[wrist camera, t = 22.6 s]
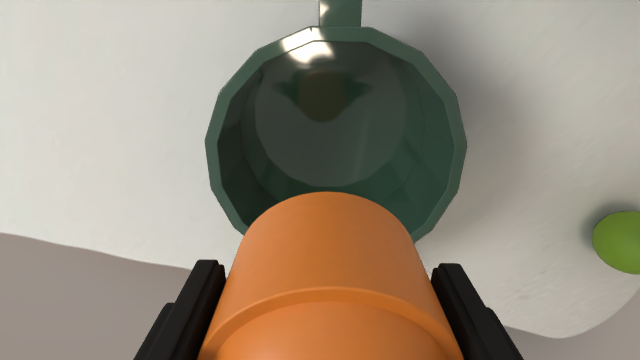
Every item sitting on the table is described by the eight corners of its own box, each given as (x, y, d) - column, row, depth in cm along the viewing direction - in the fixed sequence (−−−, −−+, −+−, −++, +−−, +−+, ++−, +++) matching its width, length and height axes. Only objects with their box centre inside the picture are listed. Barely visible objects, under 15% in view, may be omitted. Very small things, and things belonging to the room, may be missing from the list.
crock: (453, -13, 24) (503, -29, 17) (413, 246, 32) (436, 298, 26) (218, -17, 23) (180, -35, 17) (243, 244, 32) (224, 296, 26)
